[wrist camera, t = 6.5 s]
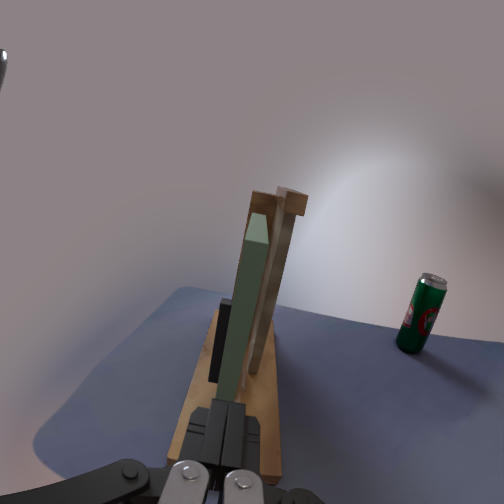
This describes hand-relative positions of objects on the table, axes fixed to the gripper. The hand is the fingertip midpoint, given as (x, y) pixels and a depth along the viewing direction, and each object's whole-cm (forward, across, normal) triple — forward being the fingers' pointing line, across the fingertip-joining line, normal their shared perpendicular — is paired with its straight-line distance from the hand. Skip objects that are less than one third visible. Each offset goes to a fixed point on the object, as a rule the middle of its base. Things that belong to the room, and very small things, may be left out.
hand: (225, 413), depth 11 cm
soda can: (+26, -28, +10) cm, 39 cm away
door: (+10, 0, +8) cm, 13 cm away
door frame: (+14, -1, +10) cm, 17 cm away
